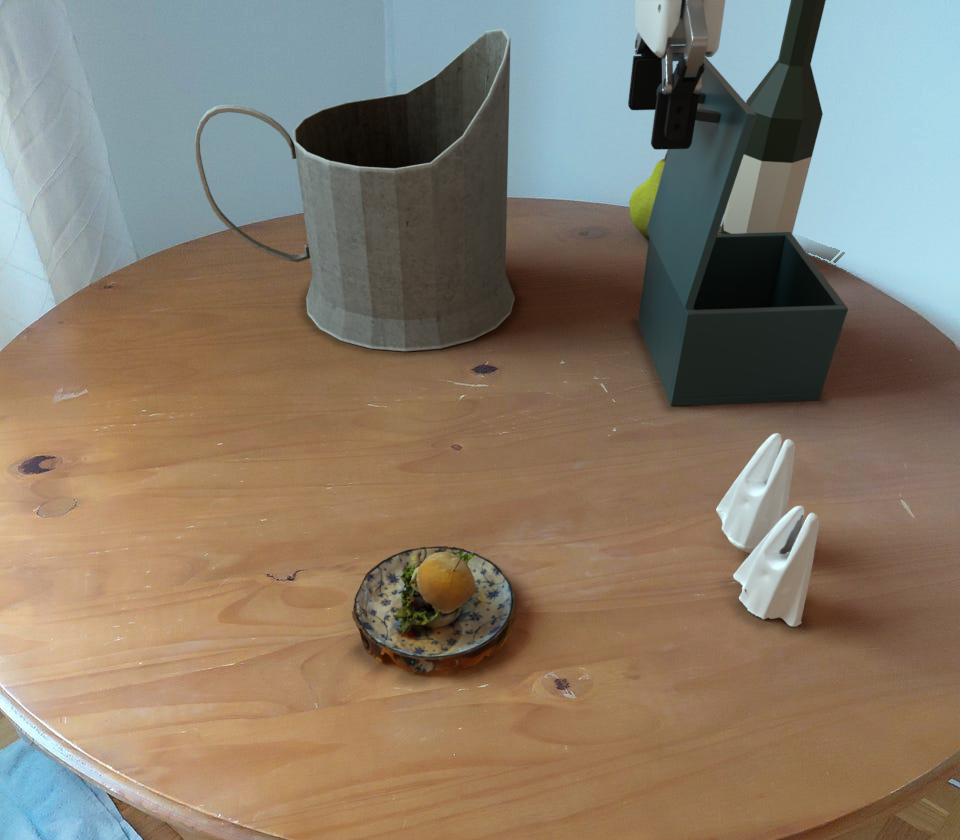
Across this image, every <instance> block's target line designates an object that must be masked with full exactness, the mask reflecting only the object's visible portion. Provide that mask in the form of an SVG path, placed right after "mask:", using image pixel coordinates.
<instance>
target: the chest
mask: <svg viewBox="0 0 960 840" xmlns="http://www.w3.org/2000/svg"><path fill="white" fill-rule="evenodd" d="M645 259H646V260H645V266H644V272H643V280H642V288H641V295H640V301H639V302H640V303H639V309H638V315H637V325H638V328H639V330H640V332H641V334H642V337H643V339H644V342H645V345H646V347H647V350H648V352H649V354H650V358H651V359H652V362H653V365H654V367H655V370H656V372H657V375H658V377H659V380H660V382H661V385H662V386H663V389H664V392H665V395H666V397H667V399H668V402H669V404H670V406H671V407H677V406H703V405H705V406H706V405H724V404H725V405H727V404H728V405H730V404H731V405H732V404H733V405H734V404H757V403H759V404H760V403H780V402H781V403H782V402H808V401H820V399H821V396H822V392H823V389H824V386H825V383H826V380H827V376H828V373H829V371H830V368H831V365H832V361H833V359H834V355H835V353H836V352H835V351H836V348H837V345H838V342H839V340H840V336H841V333H842V330H843V327H844V324H845V320H846V318H847V314H848V311H849V308H848V306H847V305H846V304H845V302H844V301H843V300H842V298H841V297H840V295H839V294H838V293H837V291H835V288H833V286H832V285H831V284H830V282H829V281H828V280H827V278H826V276H824V275H823V273H822V272H821V270H820V269H819V268H818V267H817V265H816V264H815V262H814V261H813V260H812V259H811V257H810V256H809V255H808V253H807V252H806V251H805V249H804V248H803V246H802V245H801V244H800V243H799V241H798V240H797V239H796V237H795V236H794V235H793V233H791V232H772V233H738V234H720V233H718V234H717V237H716V240H715V243H714V246H713V249H712V252H711V255H710V258H709V261H708V264H707V267H706V270H705V273H704V276H703V279H702V283H701V286H700V289H699V292H698V295H697V298H696V301H695V304H694V307H693V309H685V308H684V307H683V305H682V302H681V300H680V298H679V296H678V294H677V292H676V290H675V288H674V286H673V284H672V282H671V280H670V278H669V276H668V274H667V272H666V270H665V267H664V265H663V263H662V261H661V259H660V257H659V255H658V253H657V251H656V249H655V247H654V245H653V243H652V241H651V239H650V237H649V238H648V245H647V252H646V258H645Z"/></svg>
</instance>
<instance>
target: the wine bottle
mask: <svg viewBox="0 0 960 840" xmlns="http://www.w3.org/2000/svg"><path fill="white" fill-rule="evenodd" d="M826 2H827V0H790V2H789V7H788V12H787V16H786V21H785V26H784V30H783V36H782V40H781V45H780V50H779V53H778V59H777V60H776V61H775V63H774V64H773V65H772V67H771V68H770V69H769V71H768V72H766V75H765V76H763V79H762V80H761V81H760V82H759V83H758V85H757V86H756V87H755V89H754V90H753V91H752V93H751V94H750V96H749V97H748V98H747V99H746V101H745V102H746V103H747V105H748V106H749V107H750V108H751V109H752V110H753V111H754V113H755V114H756V115H757V116H756V119H755V122H754V125H753V128H752V131H751V134H750V137H749V140H748V143H747V146H746V149H745V152H744V155H743V158H742V162H741V165H740V168H739V171H738V174H737V177H736V180H735V183H734V186H733V189H732V192H731V195H730V198H729V201H728V204H727V207H726V210H725V213H724V216H723V219H722V222H721V227H720V228H721V229H720V233H719V234H738V233H772V232H791V233H792V234H793V232H794V228H795V225H796V220H797V218H798V217H797V216H798V212H799V209H800V204H801V201H802V197H803V193H804V190H805V185H806V181H807V177H808V173H809V169H810V165H811V162H812V158H813V153H814V150H815V146H816V142H817V138H818V134H819V130H820V127H821V123H822V118H823V115H824V113H823V109H822V104H821V102H820V98H819V92H818V88H817V85H816V80H815V75H814V73H813V69H812V68H813V67H812V61H813V55H814V52H815V48H816V43H817V39H818V35H819V31H820V28H821V27H820V26H821V22H822V19H823V13H824V10H825V5H826Z"/></svg>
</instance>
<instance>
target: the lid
mask: <svg viewBox="0 0 960 840" xmlns="http://www.w3.org/2000/svg"><path fill="white" fill-rule="evenodd" d="M703 63H704V67H705V69H704V73H702V86H701V91H700V95H699V101H698V107H697V113H696V119H695V126H694V132H693V138H692V144H691V146H690V147H689V148H688V149H669V150H668V149H667V150H668V154H667V157H666V161H665V165H664V168H663V172H662V176H661V179H660V183H659V187H658V190H657V194H656V198H655V201H654V205H653V209H652V212H651V216H650V220H649V223H648V227H647V232H648V235H649V237H650V239H651V241H652V243H653V245H654V247H655V249H656V251H657V253H658V255H659V257H660V259H661V261H662V263H663V265H664V267H665V270H666V272H667V274H668V276H669V278H670V280H671V282H672V284H673V286H674V288H675V290H676V292H677V294H678V296H679V298H680V300H681V302H682V305H683V307H684V308H685V309H693V307H694V304H695V301H696V298H697V295H698V292H699V289H700V286H701V283H702V279H703V276H704V273H705V270H706V267H707V264H708V261H709V258H710V255H711V252H712V249H713V246H714V243H715V240H716V237H717V234H719V231H720V228H721V226H722V223H723V218H724V213H725V210H726V207H727V204H728V201H729V198H730V195H731V192H732V189H733V186H734V183H735V180H736V177H737V174H738V171H739V168H740V165H741V162H742V158H743V155H744V152H745V149H746V146H747V143H748V140H749V137H750V134H751V131H752V128H753V125H754V122H755V119H756V116H757V115H756V114H755V113H754V111H753V110H752V109H751V108H750V107H749V106H748V105H747V103H746V101H745V100H744V99H743V97H742V96H741V95H740V94H739V93H738V92H737V90H735V88H734V87H733V86H732V85H731V84H730V83H729V82H728V80H727V79H726V78H725V77H724V76H723V75H722V73H720V71H719V70H718V68H716V67H715V66H714V64H712V62H711V61H710V60H709V59H708V57H706V56H705V57H704V60H703ZM658 91H662V83H661V84H660V85H659V86H658V88H657V91H656V95H657V92H658Z"/></svg>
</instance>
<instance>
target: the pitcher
mask: <svg viewBox="0 0 960 840" xmlns="http://www.w3.org/2000/svg"><path fill="white" fill-rule="evenodd" d="M511 42H512V41H511V37H510V36H509V34H508V33H507V31H506V30H505V28H497V29H492V30H491V29H490V30H486V31H485V32H483V34H481V35H480V36H479V37H478V38H476V39H475V40H474V41H473V42H472V43H471V44H469V45H468V46H467V47H466V48H464V50H462V51H461V52H460V53H459V54H458V55H457V56H455V58H453V59H452V60H451V61H450V62H449V63H448V64H446V65H445V66H444V67H443V68H442V69H441V70H440V71H439V72H437V73H436V74H435V75H434V76H432V77H430V78H428V79H426V80H425V81H424V82H422V83H420V84H419V85H416V86H415V87H413V88H412V89H410V90H408V91H407V92H402V93H396V94H390V95H383V96H377V97H370V98H365V99H357V100H351V101H346V102H342V103H339V104H335V105H332V106H328V107H325V108H321V109H319V110H318V111H316V112H314V113H312V114H310V115H308V116H305V117H304V118H302V119H301V121H300V122H299V123H298V124H297V125H296V127H295V128H293V130H292V134H293V140H292V137H291V136H290V133H289V132H288V131H287V130H286V129H285V128H284V127H283V126H282V125H281V124H280V123H279V122H278V121H276V120H275V119H274V118H272V117H271V116H270V115H268V114H266V113H264V112H262V111H260V110H257V109H255V108H252V107H248V106H245V105H244V106H243V105H240V104H221V105H216V106H214V107H212V108H210V109H208V110H207V111H206V112H205V113H204V114H203V116H202V117H201V118H200V119H199V123H198V125H197V128H196V132H195V139H194V151H195V152H194V154H195V161H196V166H197V171H198V174H199V178H200V182H201V185H202V189H203V191H204V195H205V197H206V199H207V202H208V204H209V206H210V208H211V209H212V211H213V213H215V215H216V217H217V218H218V219H219V220H220V222H221V223H222V224H224V225H225V226H226V227H227V228H228V229H229V230H230V231H231V232H232V233H234V234H235V235H236V236H237V237H238V238H239V239H241V240H242V241H244V242H245V243H246V244H248V245H250V246H251V247H254V248H255V249H257V250H258V251H261V252H263V253H265V254H267V255H270V256H272V257H276V258H278V259H281V260H284V261H288V262H293V263H300V262H303V261H306V260H309V261H310V267H311V275H312V277H311V280H310V284H309V287H308V291H307V295H306V311H307V315H308V316H309V318H310V319H311V320H312V321H313V323H314V324H315V325H316V327H317V328H318V329H319V330H321V331H323V332H325V333H326V334H328V335H330V336H331V337H333V338H335V339H337V340H339V341H341V342H343V343H348V344H350V345H355V346H359V347H362V348H367V349H370V350H381V351H395V352H415V351H416V352H417V351H428V350H440V349H444V348H449V347H453V346H456V345H460V344H464V343H468V342H471V341H474V340H476V339H478V338H480V337H482V336H483V335H485V334H488V333H490V332H491V331H494V330H495V329H497V328H498V327H499V326H500V325H501V324H502V323H503V322H504V321H505V320H506V319H507V318H508V317H509V316H511V314H512V310H513V306H514V303H515V298H516V297H515V294H514V291H513V289H512V287H511V284H510V281H509V279H508V277H507V274H506V264H507V263H506V261H507V222H508V221H507V215H508V175H509V174H508V172H509V132H510V131H509V129H510V128H509V125H510V124H509V123H510V79H511ZM223 113H235V114H242V115H247V116H251V117H253V118H256V119H259V120H261V121H262V122H264V123H266V124H268V125H269V126H271V127H272V128H274V129H275V130H276V131H277V132H279V134H280V135H281V136H282V137H283V138H284V140H285V141H286V143H287V145H288V147H289V148H290V156H291V159H292V160H295V161H296V167H297V174H298V182H299V187H300V188H299V189H300V195H301V196H300V197H301V203H302V209H303V217H304V224H305V230H306V238H307V243H305V244H304V250H305V252H303V253H301V254H294V253H287V252H285V251H281V250H278V249H275V248H272V247H270V246H268V245H266V244H263V243H261V242H259V240H257V239H254V238H253V237H251V236H250V235H248V234H246V233H245V232H244V231H243V230H241V228H240V227H238V226H236V224H235V223H233V222H232V221H231V220H230V219H229V218H228V217H227V216H226V215H225V214H224V213H223V212H222V209H220V207H219V206H218V204H217V203H216V202H215V199H214V197H213V195H212V193H211V189H210V187H209V184H208V181H207V177H206V173H205V169H204V164H203V161H202V153H201V134H202V133H203V130H204V127H205V125H206V124H207V122H208V121H209V120H210V119H211V118H212V117H214V116H216V115H218V114H223Z"/></svg>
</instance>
